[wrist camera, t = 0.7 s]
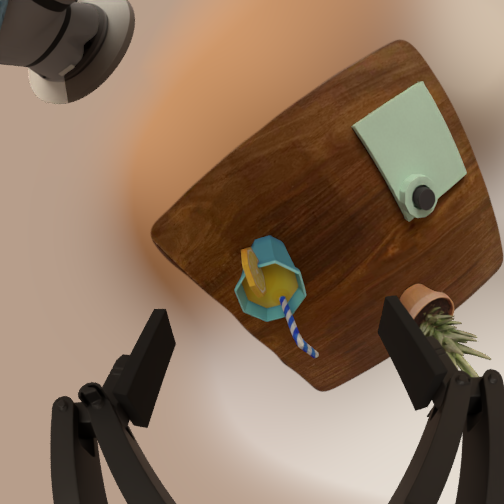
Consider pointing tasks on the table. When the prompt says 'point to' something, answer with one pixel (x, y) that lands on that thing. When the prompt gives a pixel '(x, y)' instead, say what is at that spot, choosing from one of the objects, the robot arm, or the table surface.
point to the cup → (271, 285)
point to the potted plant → (440, 323)
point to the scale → (411, 147)
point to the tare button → (424, 198)
